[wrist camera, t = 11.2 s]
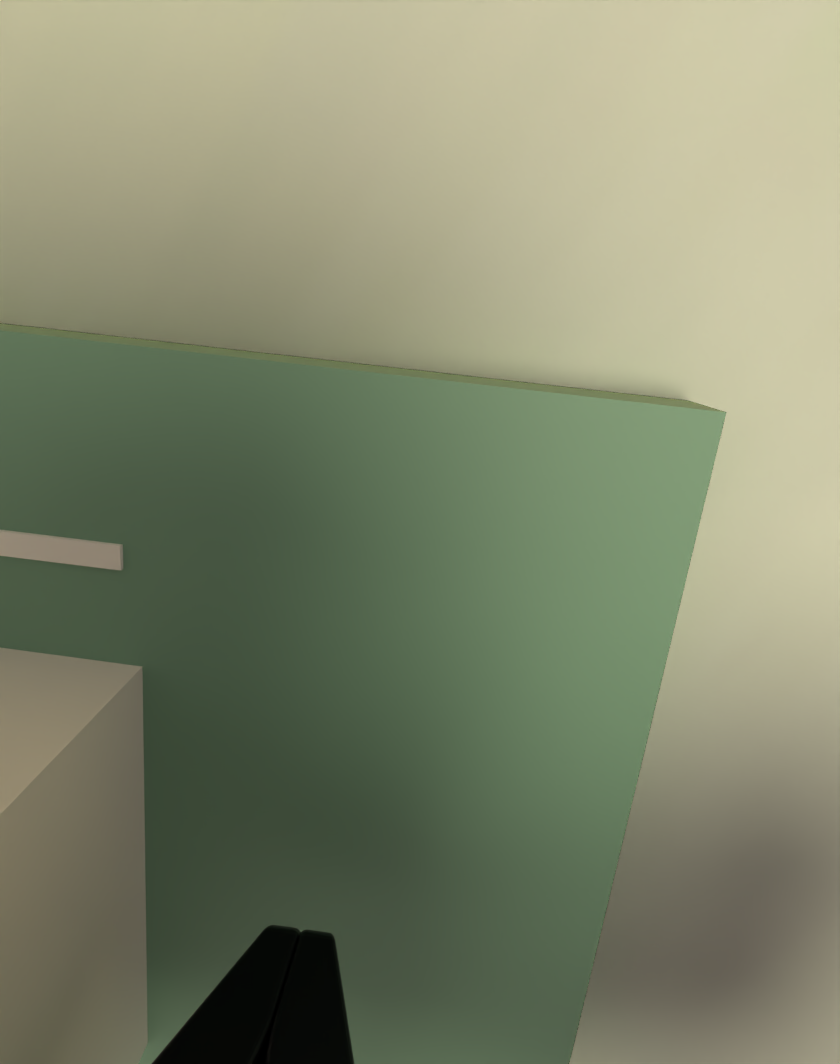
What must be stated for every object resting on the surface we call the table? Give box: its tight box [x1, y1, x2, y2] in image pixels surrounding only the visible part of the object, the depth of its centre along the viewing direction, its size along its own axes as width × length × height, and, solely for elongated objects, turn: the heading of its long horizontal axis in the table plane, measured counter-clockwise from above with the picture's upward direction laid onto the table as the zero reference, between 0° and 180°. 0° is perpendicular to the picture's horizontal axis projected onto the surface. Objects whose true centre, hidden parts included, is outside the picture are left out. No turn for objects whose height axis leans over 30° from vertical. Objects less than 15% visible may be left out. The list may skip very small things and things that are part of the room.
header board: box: [0, 323, 726, 1064], centre depth 10 cm, size 14×13×1 cm
